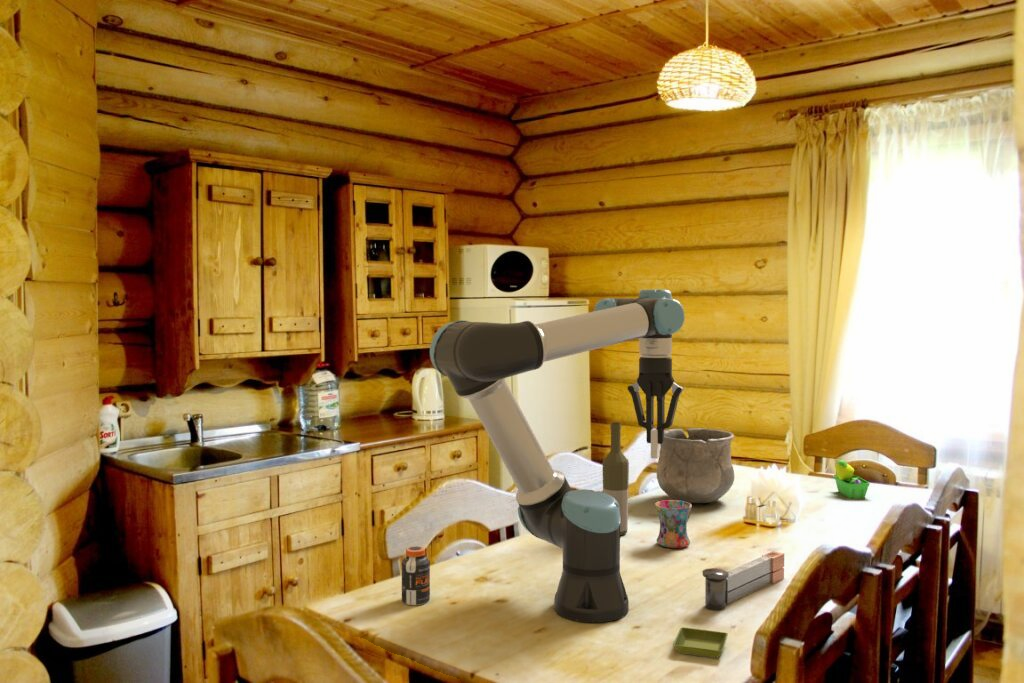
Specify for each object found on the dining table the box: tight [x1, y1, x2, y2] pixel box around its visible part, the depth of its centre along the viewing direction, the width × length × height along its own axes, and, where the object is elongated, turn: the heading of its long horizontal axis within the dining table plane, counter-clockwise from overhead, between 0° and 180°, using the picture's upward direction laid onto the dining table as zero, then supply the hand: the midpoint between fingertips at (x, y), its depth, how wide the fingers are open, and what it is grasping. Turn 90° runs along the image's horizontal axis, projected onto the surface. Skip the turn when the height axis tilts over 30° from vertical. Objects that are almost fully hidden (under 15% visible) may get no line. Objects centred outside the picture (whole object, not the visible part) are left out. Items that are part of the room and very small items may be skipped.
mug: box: [654, 499, 693, 549], centre depth 216 cm, size 12×9×11 cm
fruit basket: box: [833, 459, 870, 499], centre depth 267 cm, size 11×9×11 cm
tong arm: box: [725, 550, 785, 592], centre depth 182 cm, size 23×3×3 cm, turn 134°
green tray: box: [673, 626, 729, 659], centre depth 152 cm, size 9×9×2 cm
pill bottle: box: [401, 545, 431, 606], centre depth 176 cm, size 6×6×11 cm
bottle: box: [602, 422, 630, 536], centre depth 225 cm, size 7×7×30 cm
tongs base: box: [702, 567, 785, 612], centre depth 180 cm, size 29×5×7 cm, turn 134°
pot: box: [656, 427, 735, 504], centre depth 260 cm, size 25×24×21 cm
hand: (655, 457), depth 195 cm, fingers closed
